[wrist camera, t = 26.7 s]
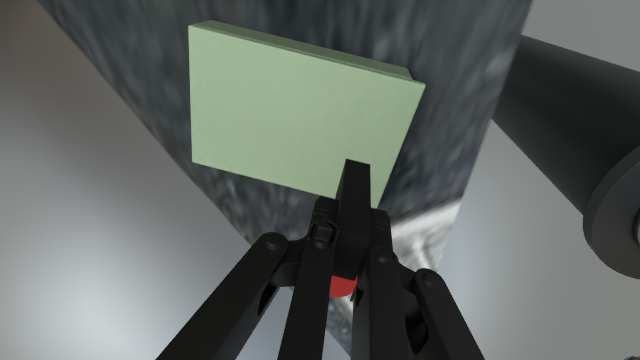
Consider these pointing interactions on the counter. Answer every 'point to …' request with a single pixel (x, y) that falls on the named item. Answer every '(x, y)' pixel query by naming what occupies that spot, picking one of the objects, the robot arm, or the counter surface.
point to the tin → (341, 286)
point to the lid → (293, 113)
